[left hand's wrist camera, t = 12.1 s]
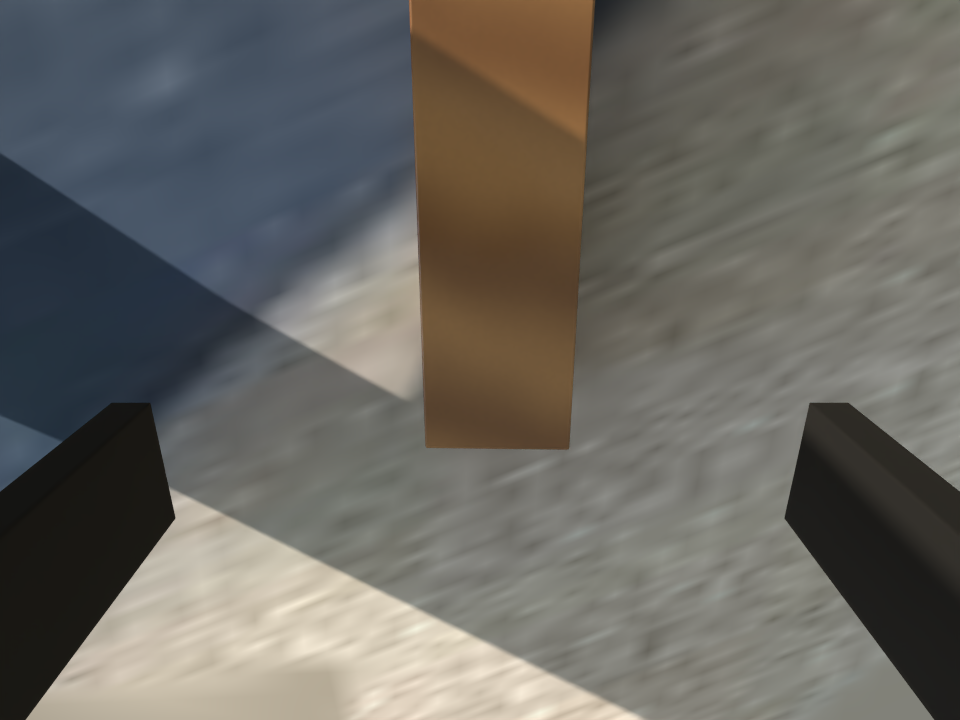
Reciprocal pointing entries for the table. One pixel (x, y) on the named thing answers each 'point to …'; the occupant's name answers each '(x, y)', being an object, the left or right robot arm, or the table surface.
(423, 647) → the table surface
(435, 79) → the beam
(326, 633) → the table surface
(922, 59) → the table surface
